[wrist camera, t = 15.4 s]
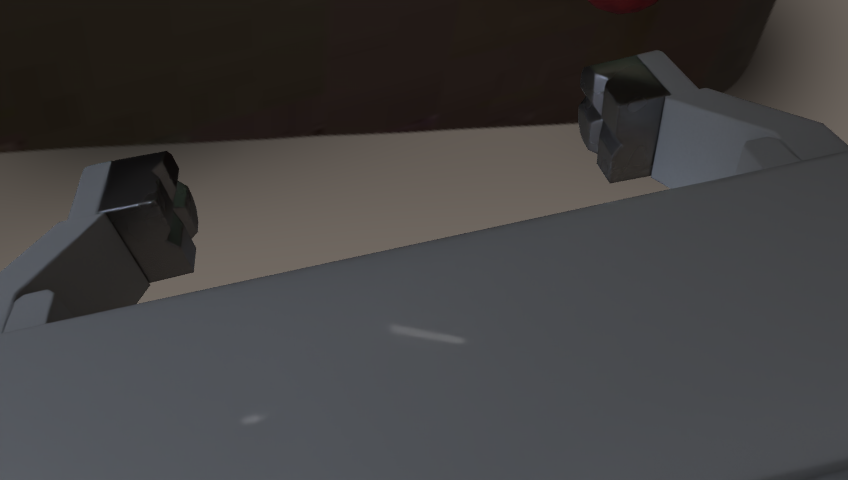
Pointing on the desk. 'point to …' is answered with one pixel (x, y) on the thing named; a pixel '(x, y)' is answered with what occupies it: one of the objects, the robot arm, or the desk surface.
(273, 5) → the desk surface
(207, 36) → the desk surface
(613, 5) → the onion
